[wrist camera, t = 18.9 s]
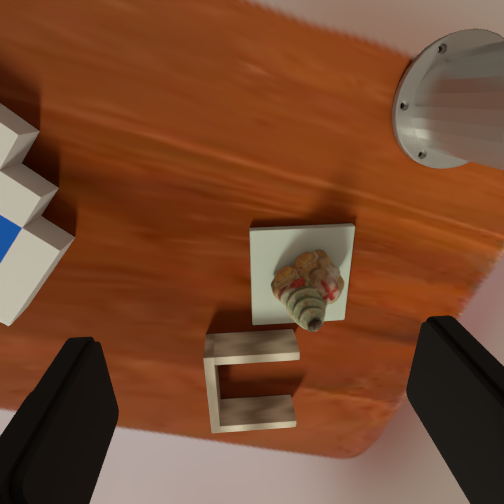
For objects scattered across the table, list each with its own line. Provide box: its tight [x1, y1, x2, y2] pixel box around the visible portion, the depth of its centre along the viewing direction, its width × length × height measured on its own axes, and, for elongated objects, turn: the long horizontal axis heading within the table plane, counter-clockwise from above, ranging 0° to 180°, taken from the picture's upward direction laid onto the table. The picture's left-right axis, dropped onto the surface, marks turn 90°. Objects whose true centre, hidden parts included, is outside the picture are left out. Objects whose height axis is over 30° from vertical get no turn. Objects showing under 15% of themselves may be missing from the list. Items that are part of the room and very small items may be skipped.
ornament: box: [271, 249, 345, 332], centre depth 36 cm, size 8×6×10 cm
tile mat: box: [249, 223, 355, 325], centre depth 41 cm, size 12×13×1 cm
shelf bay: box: [204, 329, 300, 433], centre depth 45 cm, size 12×13×4 cm
